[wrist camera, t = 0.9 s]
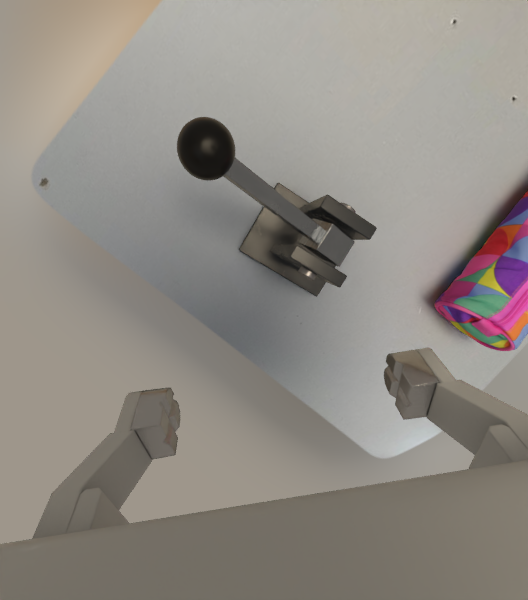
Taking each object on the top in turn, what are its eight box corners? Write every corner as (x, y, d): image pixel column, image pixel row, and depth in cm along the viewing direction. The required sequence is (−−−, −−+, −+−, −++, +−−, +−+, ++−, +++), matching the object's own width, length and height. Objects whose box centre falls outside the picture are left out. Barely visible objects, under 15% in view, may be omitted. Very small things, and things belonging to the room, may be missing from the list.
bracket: (238, 249, 34) (244, 255, 22) (276, 184, 34) (305, 150, 21) (314, 294, 36) (359, 323, 24) (351, 233, 35) (419, 230, 23)
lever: (161, 157, 18) (174, 157, 16) (187, 106, 18) (205, 98, 15) (314, 262, 26) (339, 274, 24) (334, 228, 26) (362, 237, 23)
